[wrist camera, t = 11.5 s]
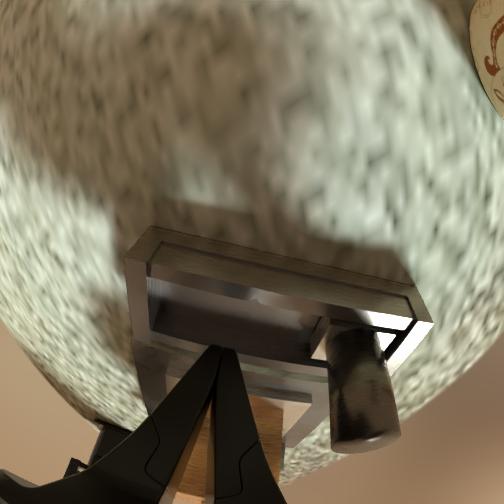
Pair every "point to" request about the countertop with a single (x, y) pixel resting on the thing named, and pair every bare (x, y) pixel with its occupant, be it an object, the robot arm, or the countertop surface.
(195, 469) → the block
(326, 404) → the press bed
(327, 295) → the lever track
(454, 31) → the countertop surface
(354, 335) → the lever
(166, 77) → the countertop surface
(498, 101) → the mug
